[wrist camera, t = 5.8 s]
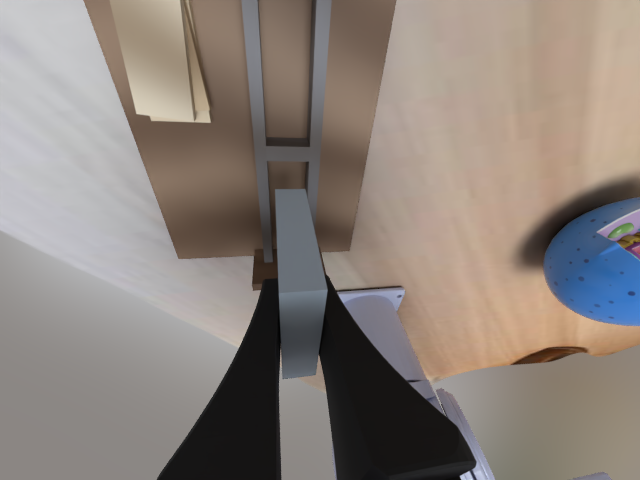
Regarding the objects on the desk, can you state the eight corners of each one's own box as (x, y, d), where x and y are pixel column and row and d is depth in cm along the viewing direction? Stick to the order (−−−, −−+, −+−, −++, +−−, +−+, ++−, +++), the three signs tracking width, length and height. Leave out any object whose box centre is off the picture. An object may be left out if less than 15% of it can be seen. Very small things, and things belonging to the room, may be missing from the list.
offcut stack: (215, 120, 14) (210, 128, 12) (152, 118, 13) (141, 126, 12) (189, -35, 10) (179, -44, 9) (101, -46, 10) (77, -57, 8)
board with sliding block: (346, 243, 22) (361, 283, 18) (182, 250, 20) (163, 296, 16) (398, -57, 11) (455, -96, 8) (57, -111, 9) (-72, -197, 6)
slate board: (301, 271, 17) (315, 374, 12) (278, 273, 16) (282, 379, 12) (305, 188, 13) (327, 289, 8) (274, 189, 13) (278, 293, 8)
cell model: (645, 217, 26) (795, 292, 18) (525, 280, 30) (609, 362, 22) (653, 144, 20) (873, 209, 13) (504, 233, 24) (607, 322, 17)
